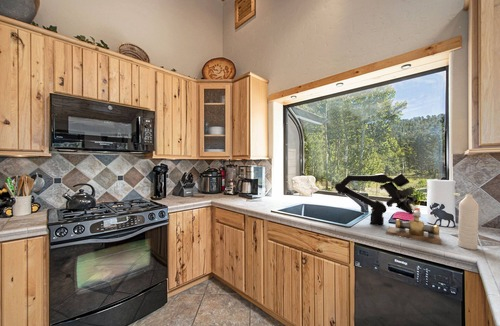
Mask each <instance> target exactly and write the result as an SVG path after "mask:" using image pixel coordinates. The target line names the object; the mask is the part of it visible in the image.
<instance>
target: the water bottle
mask: <svg viewBox="0 0 500 326" xmlns="http://www.w3.org/2000/svg"><path fill="white" fill-rule="evenodd" d="M452 195H453V196H457V197H458V196H459V197H460V196H461V193H459V192H458V193H457V192H453V193H452ZM458 204H459V205H458V225H457V226H458V228H457V230H458V232H457V234H458V235H457V238H458V240H457V245H458V246H459V247H461V248H464V249H466V250H472V251H473V250H478V243H479V242H478V238H479V235H478V234H479V232H478V231H479V214H480V213H479V210H480V206H479V203H478V202H477V201H476V200H475V199H474V196H473V194H469V193H466V194H465V196H464V198H463V199H462V200H461V201H459V203H458Z"/></svg>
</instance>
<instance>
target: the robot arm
mask: <svg viewBox="0 0 500 326" xmlns="http://www.w3.org/2000/svg"><path fill="white" fill-rule="evenodd" d="M350 182H373V183H379V184H380V186H379V189H380V190H381V191H382V190H385V192H386V193H387V194H388V195H387V197H389V198H390V199H389V200H387V201H385V202H386V205H387V206H386V205H385V204H384V202H383V201H380V200H379V199H377V198H375V200H374V199H371V198H369V197H367V196H365V195H363V194H361V193H359V192H357V191H355V190H354V189H351V188H350V187H349V186H348V185H349V183H350ZM409 183H410V181H409V179H408V177H406V176H405V175H404V174H403V173H398V174H397V175H396V176H394V177H392V176H391V177H390V176H388V175H387V174H385V173H377V174H371V175H368V174H367V175H365V174H364V175H362V174H361V175H359V174H358V175H357V174H348V175H346V177H345V178H343V180H341V181H339V182H337V183H336V184H335V185H334V189H335V190H336V191H337V192H339V193H341V194H345V195H349V196H350V197H352V198H354V199H356V200H358V201H360V202H362V203H364V204H366V205H367V206H369V207H370V208H371V209H370V211H371V213H370V223H369V225H374V226H380V227H382V226H383V225H384V224H385V223H384V222H385V218H384V216H383V215H384V213H386V212H387V207H388V208H391V207H393V204H396V205H395V207H396V208H398V209H400V210H402V211H404V212H406V213H408V214H409V215H413V210H412V206H411V204H412V203H413V202H415V201H416V200H417V197H416V196H415V195H414V191H415V190H414V189H413V188H411V187H406V188H405V189H398V188H402V187H404V186H406V185H408V184H409Z"/></svg>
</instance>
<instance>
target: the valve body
mask: <svg viewBox="0 0 500 326" xmlns="http://www.w3.org/2000/svg"><path fill="white" fill-rule="evenodd" d="M394 227H396V228H399V232H403V233H405V229H407V230H409V233H410V234H412V235H416V236H424V233H428V237H430V238H434V235H440V225H437V224H436V225H435V224H433V225H428V224H425V222H424V221H421V220H420V217H413V219H409V220H408V221H404V220H401V219H399V218H398V219H397V218H396V219H395V225H394Z"/></svg>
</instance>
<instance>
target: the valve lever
mask: <svg viewBox="0 0 500 326" xmlns="http://www.w3.org/2000/svg"><path fill="white" fill-rule="evenodd" d="M412 212H413V214H412V217H413V218H414V217H419V218H421V215H422V214H421V209H420V207H414V211H413V210H412Z"/></svg>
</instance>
